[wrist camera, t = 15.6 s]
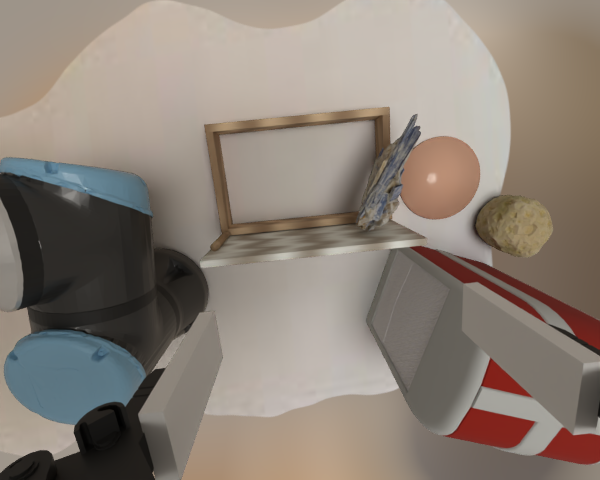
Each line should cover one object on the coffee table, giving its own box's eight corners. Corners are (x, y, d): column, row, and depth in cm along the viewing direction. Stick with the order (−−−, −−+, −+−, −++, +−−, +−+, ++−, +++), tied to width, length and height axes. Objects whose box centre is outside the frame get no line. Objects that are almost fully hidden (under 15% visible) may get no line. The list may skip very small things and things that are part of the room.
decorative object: (483, 189, 53) (478, 196, 45) (557, 194, 47) (566, 203, 39) (474, 239, 55) (467, 254, 47) (542, 250, 50) (547, 269, 42)
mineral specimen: (344, 226, 43) (370, 238, 43) (361, 216, 34) (394, 231, 34) (382, 136, 44) (408, 149, 44) (408, 106, 36) (439, 121, 36)
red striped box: (394, 238, 51) (507, 313, 25) (489, 263, 52) (688, 359, 26) (364, 324, 54) (434, 469, 28) (453, 345, 56) (597, 501, 30)
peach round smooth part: (399, 222, 50) (400, 223, 50) (397, 141, 47) (399, 140, 47) (476, 214, 50) (478, 215, 50) (479, 132, 47) (482, 132, 47)
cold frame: (228, 236, 50) (200, 268, 34) (211, 128, 46) (171, 108, 30) (384, 221, 50) (427, 244, 34) (381, 111, 46) (427, 83, 30)
